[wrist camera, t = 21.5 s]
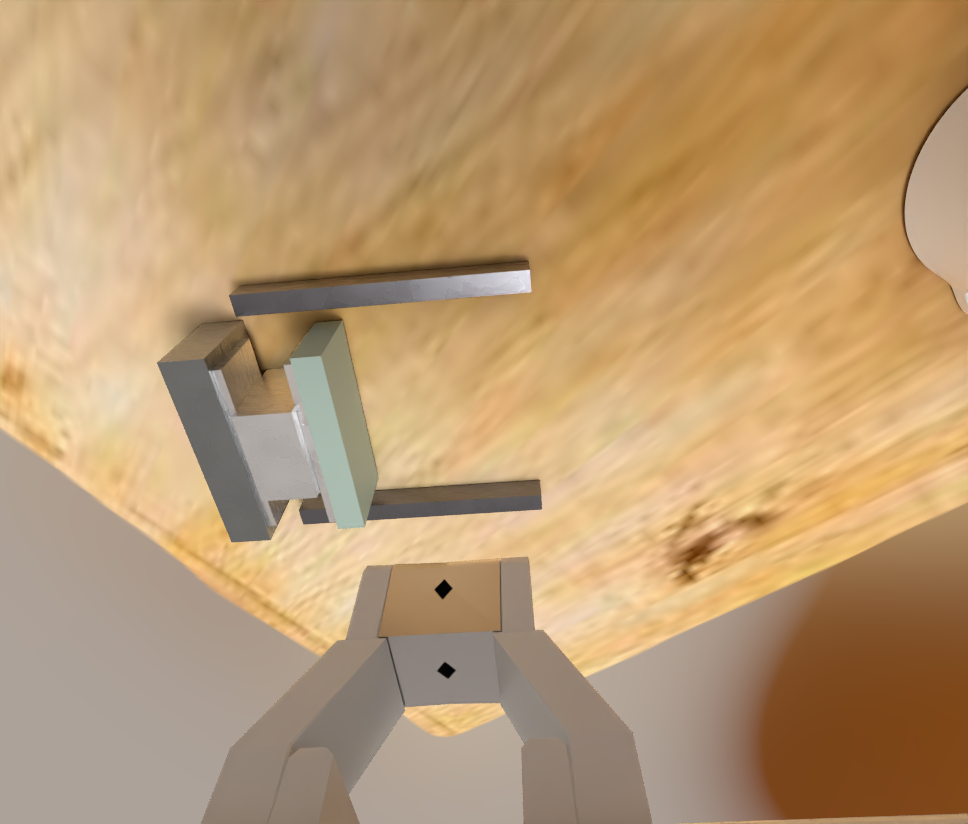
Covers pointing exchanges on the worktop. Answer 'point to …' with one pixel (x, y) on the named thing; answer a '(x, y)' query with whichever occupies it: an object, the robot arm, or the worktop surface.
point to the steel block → (275, 440)
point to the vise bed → (234, 372)
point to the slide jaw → (333, 422)
